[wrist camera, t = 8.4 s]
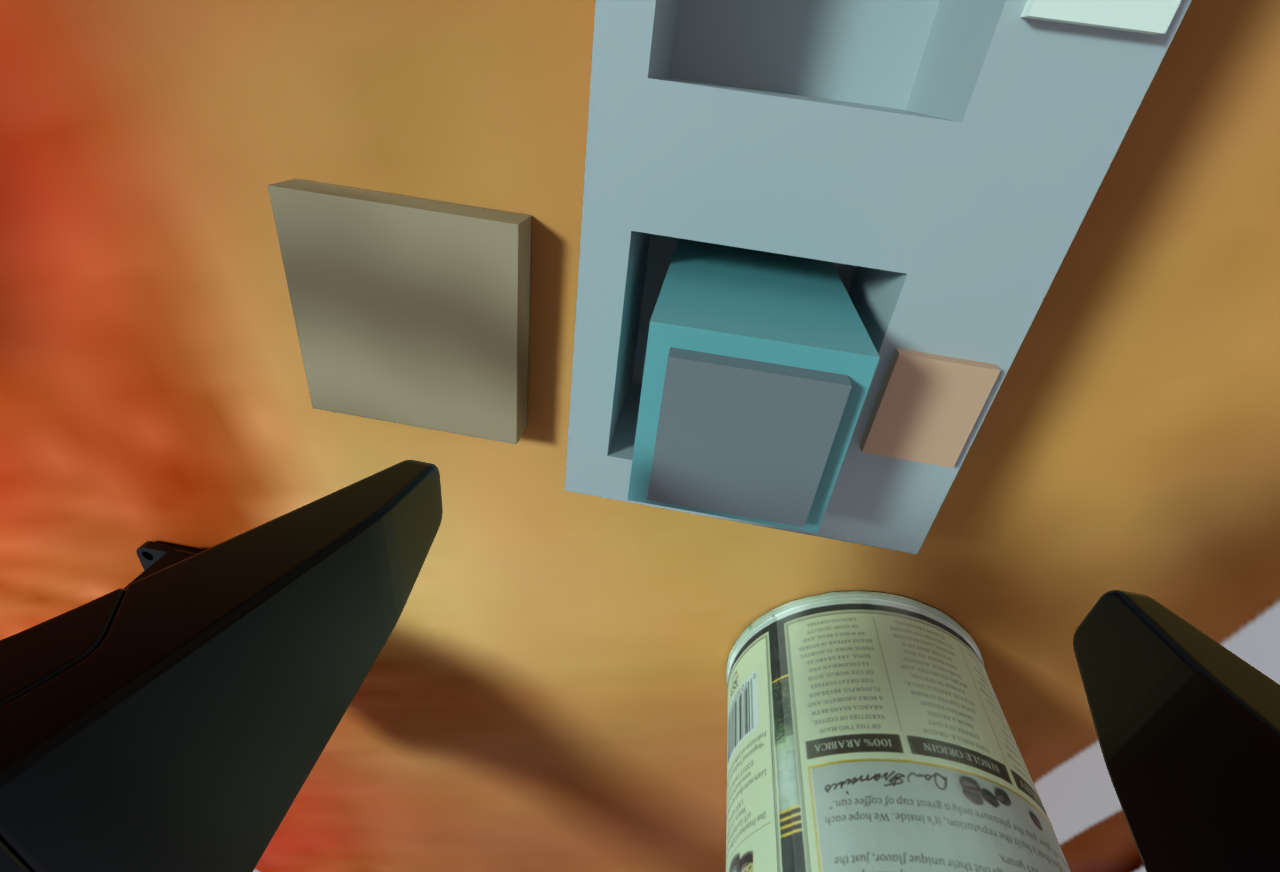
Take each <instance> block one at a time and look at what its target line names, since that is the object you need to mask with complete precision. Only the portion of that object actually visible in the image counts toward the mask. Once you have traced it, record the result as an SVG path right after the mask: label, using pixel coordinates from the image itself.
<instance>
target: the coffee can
mask: <svg viewBox="0 0 1280 872" xmlns="http://www.w3.org/2000/svg"><path fill="white" fill-rule="evenodd" d="M726 680H727V686H728V732H727V832H726V872H1071V871H1070V868H1069V866H1068V864H1067V861H1066V859H1065V857H1064V854H1063V852H1062V850H1061V847H1060V845H1059V842H1058V840H1057V838H1056V835H1055V833H1054V830H1053V828H1052V825H1051V822H1050V821H1049V818H1048V816H1047V814H1046V811H1045V810H1044V807H1043V805H1042V802H1041V800H1040V798H1039V795H1038V793H1037V791H1036V788H1035V786H1034V783H1033V781H1032V779H1031V776H1030V774H1029V772H1028V769H1027V767H1026V765H1025V762H1024V760H1023V758H1022V755H1021V753H1020V751H1019V748H1018V746H1017V744H1016V741H1015V739H1014V737H1013V734H1012V732H1011V730H1010V727H1009V725H1008V723H1007V720H1006V718H1005V716H1004V713H1003V711H1002V709H1001V706H1000V704H999V702H998V699H997V697H996V695H995V692H994V690H993V688H992V685H991V683H990V681H989V678H988V675H987V672H986V670H985V668H984V662H983V659H982V656H981V653H980V651H979V649H978V647H977V645H976V644H975V642H974V640H973V639H972V637H971V636H970V635H969V634H968V633H967V632H966V631H965V630H964V629H963V628H962V627H961V626H960V625H959V624H958V623H957V622H956V621H954V620H953V619H952V618H950V617H949V616H947V615H946V614H945V613H943V612H941V611H939V610H938V609H936V608H933V607H931V606H928V605H925V604H923V603H921V602H919V601H916V600H913V599H910V598H906V597H903V596H898V595H893V594H887V593H881V592H867V591H838V592H829V593H825V594H820V595H815V596H809V597H805V598H802V599H798V600H794V601H791V602H788V603H786V604H783V605H781V606H779V607H777V608H775V609H773V610H771V611H769V612H767V613H766V614H764V615H762V616H761V617H760V618H758V619H757V620H755V621H754V622H753V623H752V624H750V625H749V626H748V627H747V628H746V630H745V631H744V632H743V633H742V634H741V636H740V637H739V638H738V640H737V641H736V642H735V644H734V646H733V648H732V650H731V652H730V655H729V659H728V662H727V670H726Z"/></svg>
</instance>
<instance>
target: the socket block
mask: <svg viewBox="0 0 1280 872" xmlns="http://www.w3.org/2000/svg"><path fill="white" fill-rule="evenodd" d="M1191 1H1192V0H596V6H595V22H594V38H593V53H592V69H591V85H590V101H589V116H588V132H587V148H586V164H585V180H584V195H583V211H582V227H581V243H580V259H579V274H578V290H577V306H576V322H575V337H574V353H573V369H572V385H571V401H570V416H569V432H568V448H567V464H566V480H565V491H571V492H576V493H582V494H587V495H593V496H598V497H604V498H609V499H615V500H620V501H626V502H631V503H637V504H642V505H648V506H653V507H659V508H664V509H670V510H675V511H681V512H686V513H692V514H697V515H703V516H708V517H714V518H719V519H725V520H730V521H736V522H741V523H747V524H752V525H758V526H763V527H769V528H774V529H780V530H785V531H791V532H796V533H802V534H807V535H813V536H819V537H824V538H830V539H835V540H841V541H846V542H852V543H857V544H863V545H868V546H874V547H879V548H885V549H890V550H896V551H901V552H907V553H912V554H918V552H919V550H920V548H921V546H922V544H923V541H924V539H925V537H926V535H927V533H928V531H929V529H930V527H931V525H932V523H933V521H934V519H935V517H936V515H937V513H938V511H939V509H940V507H941V505H942V503H943V501H944V499H945V497H946V495H947V493H948V491H949V489H950V487H951V485H952V483H953V481H954V479H955V477H956V475H957V473H958V471H959V469H960V467H961V465H962V463H963V461H964V459H965V457H966V455H967V453H968V451H969V449H970V447H971V445H972V443H973V441H974V439H975V437H976V435H977V433H978V431H979V429H980V427H981V425H982V422H983V420H984V418H985V416H986V414H987V412H988V410H989V408H990V406H991V404H992V402H993V400H994V398H995V396H996V394H997V392H998V390H999V388H1000V386H1001V384H1002V382H1003V380H1004V378H1005V376H1006V374H1007V372H1008V370H1009V368H1010V366H1011V364H1012V362H1013V360H1014V358H1015V356H1016V354H1017V352H1018V350H1019V348H1020V346H1021V344H1022V342H1023V340H1024V338H1025V336H1026V334H1027V332H1028V330H1029V328H1030V326H1031V324H1032V322H1033V320H1034V318H1035V316H1036V314H1037V312H1038V310H1039V308H1040V306H1041V304H1042V301H1043V299H1044V297H1045V295H1046V293H1047V291H1048V289H1049V287H1050V285H1051V283H1052V281H1053V279H1054V277H1055V275H1056V273H1057V271H1058V269H1059V267H1060V265H1061V263H1062V261H1063V259H1064V257H1065V255H1066V253H1067V251H1068V249H1069V247H1070V245H1071V243H1072V241H1073V239H1074V237H1075V235H1076V233H1077V231H1078V229H1079V227H1080V225H1081V223H1082V221H1083V219H1084V217H1085V215H1086V213H1087V211H1088V209H1089V207H1090V205H1091V203H1092V201H1093V199H1094V197H1095V195H1096V193H1097V191H1098V189H1099V187H1100V185H1101V183H1102V180H1103V178H1104V176H1105V174H1106V172H1107V170H1108V168H1109V166H1110V164H1111V162H1112V160H1113V158H1114V156H1115V154H1116V152H1117V150H1118V148H1119V146H1120V144H1121V142H1122V140H1123V138H1124V136H1125V134H1126V132H1127V130H1128V128H1129V126H1130V124H1131V122H1132V120H1133V118H1134V116H1135V114H1136V112H1137V110H1138V108H1139V106H1140V104H1141V102H1142V100H1143V98H1144V96H1145V94H1146V92H1147V90H1148V88H1149V86H1150V84H1151V82H1152V80H1153V78H1154V76H1155V74H1156V72H1157V70H1158V68H1159V66H1160V64H1161V61H1162V59H1163V57H1164V55H1165V53H1166V51H1167V49H1168V47H1169V45H1170V43H1171V41H1172V39H1173V37H1174V35H1175V33H1176V31H1177V29H1178V27H1179V25H1180V23H1181V21H1182V19H1183V17H1184V15H1185V13H1186V11H1187V9H1188V7H1189V5H1190V3H1191ZM679 238H681V239H687V240H694V241H700V242H707V243H713V244H719V245H726V246H732V247H739V248H745V249H751V250H758V251H764V252H771V253H777V254H784V255H790V256H796V257H803V258H809V259H816V260H822V261H828V262H832V263H833V265H834V267H835V269H836V271H837V273H838V275H839V277H840V279H841V281H842V283H843V285H844V287H845V289H846V291H847V293H848V295H849V297H850V299H851V301H852V303H853V305H854V307H855V309H856V311H857V313H858V315H859V317H860V318H861V320H862V322H863V324H864V326H865V328H866V330H867V332H868V334H869V336H870V338H871V340H872V342H873V344H874V346H875V348H876V350H877V352H878V354H879V356H880V359H879V361H878V364H877V367H876V370H875V373H874V375H873V378H872V381H871V384H870V387H869V390H868V392H867V395H866V398H865V401H864V404H863V406H862V409H861V412H860V415H859V418H858V420H857V423H856V426H855V429H854V432H853V435H852V437H851V440H850V443H849V446H848V449H847V451H846V454H845V457H844V460H843V463H842V465H841V468H840V471H839V474H838V477H837V480H836V482H835V485H834V488H833V491H832V494H831V496H830V499H829V502H828V505H827V508H826V511H825V513H824V516H823V519H822V522H821V525H820V527H819V530H818V533H813V532H807V531H802V530H796V529H790V528H784V527H779V526H773V525H767V524H762V523H756V522H750V521H745V520H739V519H733V518H727V517H722V516H716V515H710V514H705V513H699V512H693V511H688V510H682V509H676V508H671V507H665V506H659V505H653V504H648V503H642V502H636V501H631V500H627V499H628V491H629V483H630V475H631V468H632V460H633V452H634V444H635V436H636V428H637V420H638V412H639V404H640V396H641V388H642V380H643V372H644V364H645V356H646V349H647V341H648V333H649V325H650V320H651V317H652V314H653V311H654V308H655V305H656V303H657V300H658V297H659V294H660V291H661V288H662V285H663V283H664V280H665V277H666V274H667V271H668V268H669V265H670V263H671V260H672V257H673V254H674V251H675V248H676V246H677V243H678V240H679Z"/></svg>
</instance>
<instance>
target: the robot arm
mask: <svg viewBox="0 0 1280 872" xmlns="http://www.w3.org/2000/svg"><path fill="white" fill-rule="evenodd" d="M441 519H442V498H441V485H440V474H439V470H438V468H437V467H436V466H435V465H434V464H431V463H425V462H420V461H415V460H406V461H403V462H400V463H398V464H396V465H394V466H392V467H389V468H387V469H385V470H383V471H380V472H378V473H376V474H374V475H372V476H369V477H367V478H365V479H363V480H360V481H358V482H356V483H354V484H352V485H349V486H347V487H345V488H343V489H340V490H338V491H336V492H334V493H332V494H329V495H327V496H325V497H323V498H320V499H318V500H316V501H314V502H312V503H309V504H307V505H305V506H303V507H300V508H298V509H296V510H294V511H291V512H289V513H287V514H285V515H283V516H280V517H278V518H276V519H274V520H271V521H269V522H267V523H265V524H263V525H260V526H258V527H256V528H254V529H251V530H249V531H247V532H245V533H243V534H240V535H238V536H236V537H234V538H231V539H229V540H227V541H225V542H223V543H220V544H218V545H216V546H214V547H211V548H209V549H207V550H205V551H198V550H193V549H188V548H183V547H178V546H173V545H167V544H162V543H157V542H152V541H147V542H145V543H144V544H143V545H141V546H140V547H139V548H138V549H137V555H138V557H139V559H140V562H141V564H142V566H143V568H144V570H145V571H144V572H143V573H142V574H141V575H139V576H138V577H137V578H136V579H135V580H133V581H132V582H131V583H130V584H129V585H127V586H126V587H125V588H124V589H117V590H115V591H113V592H111V593H109V594H106V595H104V596H102V597H100V598H98V599H95V600H93V601H91V602H89V603H86V604H84V605H82V606H80V607H77V608H75V609H73V610H71V611H68V612H66V613H64V614H61V615H59V616H57V617H54V618H52V619H50V620H47V621H45V622H43V623H40V624H38V625H36V626H34V627H31V628H29V629H27V630H24V631H22V632H20V633H17V634H15V635H13V636H10V637H8V638H5V639H3V640H0V872H253V870H254V868H255V866H256V865H257V863H258V861H259V860H260V858H261V856H262V854H263V853H264V851H265V849H266V848H267V846H268V844H269V842H270V841H271V839H272V837H273V835H274V834H275V832H276V830H277V829H278V827H279V825H280V823H281V822H282V820H283V818H284V817H285V815H286V813H287V811H288V810H289V808H290V806H291V805H292V803H293V801H294V799H295V798H296V796H297V794H298V792H299V791H300V789H301V787H302V786H303V784H304V782H305V780H306V779H307V777H308V775H309V774H310V772H311V770H312V768H313V767H314V765H315V763H316V762H317V760H318V758H319V756H320V755H321V753H322V751H323V749H324V748H325V746H326V744H327V743H328V741H329V739H330V737H331V736H332V734H333V732H334V731H335V729H336V727H337V725H338V724H339V722H340V720H341V718H342V717H343V715H344V713H345V712H346V710H347V708H348V706H349V705H350V703H351V701H352V700H353V698H354V696H355V694H356V693H357V691H358V689H359V688H360V686H361V684H362V682H363V681H364V679H365V677H366V675H367V674H368V672H369V670H370V669H371V667H372V665H373V663H374V662H375V660H376V658H377V657H378V655H379V653H380V651H381V650H382V648H383V646H384V644H385V643H386V641H387V639H388V638H389V636H390V634H391V632H392V630H393V629H394V627H395V625H396V623H397V621H398V619H399V617H400V615H401V613H402V611H403V608H404V606H405V604H406V602H407V600H408V597H409V595H410V593H411V590H412V588H413V586H414V584H415V581H416V579H417V577H418V575H419V572H420V570H421V568H422V565H423V563H424V561H425V559H426V556H427V554H428V552H429V549H430V547H431V545H432V543H433V540H434V538H435V536H436V533H437V531H438V529H439V526H440V523H441ZM1073 647H1074V652H1075V656H1076V659H1077V663H1078V667H1079V670H1080V674H1081V678H1082V681H1083V685H1084V689H1085V692H1086V696H1087V700H1088V703H1089V707H1090V710H1091V714H1092V718H1093V721H1094V725H1095V729H1096V732H1097V736H1098V740H1099V743H1100V747H1101V749H1102V753H1103V757H1104V760H1105V763H1106V766H1107V769H1108V772H1109V775H1110V777H1111V780H1112V783H1113V786H1114V788H1115V791H1116V793H1117V796H1118V799H1119V801H1120V804H1121V807H1122V809H1123V812H1124V814H1125V817H1126V820H1127V822H1128V825H1129V827H1130V830H1131V833H1132V835H1133V838H1134V840H1135V843H1136V846H1137V848H1138V851H1139V853H1140V856H1141V859H1142V861H1143V864H1144V866H1145V869H1146V871H1147V872H1280V685H1279V684H1277V683H1276V682H1274V681H1273V680H1272V679H1270V678H1269V677H1267V676H1266V675H1264V674H1263V673H1261V672H1260V671H1258V670H1257V669H1255V668H1254V667H1252V666H1250V665H1249V664H1248V663H1246V662H1245V661H1243V660H1242V659H1240V658H1239V657H1238V656H1236V655H1235V654H1233V653H1232V652H1230V651H1229V650H1227V649H1226V648H1224V647H1223V646H1221V645H1220V644H1219V643H1217V642H1216V641H1214V640H1213V639H1211V638H1210V637H1208V636H1207V635H1205V634H1204V633H1202V632H1201V631H1199V630H1198V629H1196V628H1195V627H1193V626H1192V625H1191V624H1189V623H1188V622H1186V621H1185V620H1183V619H1182V618H1180V617H1179V616H1177V615H1176V614H1174V613H1173V612H1171V611H1170V610H1168V609H1167V608H1166V607H1164V606H1163V605H1161V604H1160V603H1158V602H1157V601H1155V600H1154V599H1152V598H1150V597H1148V596H1145V595H1142V594H1136V593H1131V592H1125V591H1120V590H1112V591H1109V592H1107V593H1105V594H1104V595H1103V596H1102V597H1101V598H1100V599H1099V600H1098V602H1097V603H1096V604H1095V606H1094V607H1093V608H1092V610H1091V611H1090V612H1089V613H1088V615H1087V616H1086V617H1085V619H1084V620H1083V621H1082V623H1081V624H1080V625H1079V627H1078V628H1077V630H1076V632H1075V634H1074V639H1073Z"/></svg>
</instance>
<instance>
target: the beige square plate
mask: <svg viewBox="0 0 1280 872" xmlns="http://www.w3.org/2000/svg"><path fill="white" fill-rule="evenodd" d="M268 190H269V195H270V199H271V204H272V209H273V214H274V219H275V224H276V229H277V234H278V239H279V244H280V249H281V254H282V259H283V264H284V269H285V274H286V279H287V284H288V289H289V294H290V299H291V303H292V308H293V313H294V318H295V323H296V328H297V333H298V338H299V343H300V348H301V353H302V358H303V363H304V368H305V373H306V378H307V383H308V388H309V393H310V398H311V403H312V407H313V408H315V409H321V410H326V411H332V412H338V413H343V414H349V415H354V416H360V417H366V418H371V419H377V420H383V421H388V422H394V423H399V424H405V425H411V426H416V427H422V428H427V429H433V430H439V431H444V432H450V433H456V434H461V435H467V436H472V437H478V438H484V439H489V440H495V441H500V442H506V443H512V444H517V442H518V441H519V439H520V437H521V436H522V434H523V432H524V431H525V429H526V427H527V414H528V363H529V313H530V262H531V215H525V214H519V213H512V212H506V211H499V210H493V209H487V208H480V207H474V206H467V205H461V204H455V203H448V202H442V201H435V200H429V199H422V198H416V197H410V196H403V195H397V194H390V193H384V192H378V191H371V190H365V189H358V188H352V187H345V186H339V185H333V184H326V183H320V182H313V181H307V180H301V179H292V180H288V181H284V182H279V183H275V184H271V185H268Z"/></svg>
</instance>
